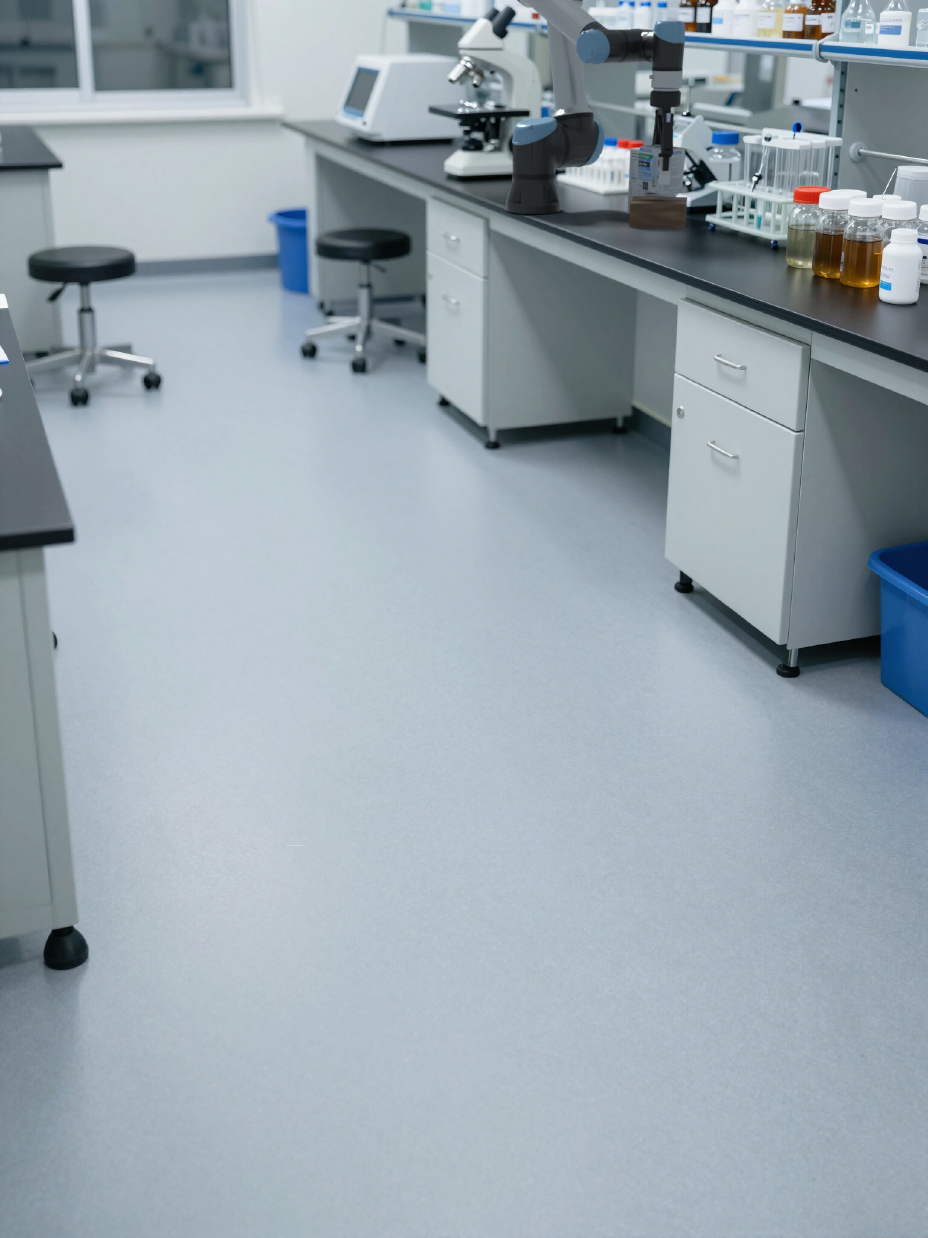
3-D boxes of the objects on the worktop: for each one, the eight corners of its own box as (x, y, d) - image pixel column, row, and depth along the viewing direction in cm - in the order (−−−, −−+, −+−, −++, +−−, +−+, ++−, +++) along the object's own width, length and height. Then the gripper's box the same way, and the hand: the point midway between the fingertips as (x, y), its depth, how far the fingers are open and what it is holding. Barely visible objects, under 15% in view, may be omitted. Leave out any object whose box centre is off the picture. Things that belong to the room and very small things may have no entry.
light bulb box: (635, 189, 326) (638, 145, 322) (656, 187, 330) (658, 143, 325) (663, 194, 318) (665, 148, 313) (683, 192, 321) (686, 147, 317)
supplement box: (673, 215, 338) (678, 148, 331) (643, 217, 335) (647, 150, 328) (656, 211, 346) (660, 145, 339) (626, 213, 343) (629, 147, 336)
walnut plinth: (632, 219, 335) (633, 196, 332) (685, 220, 332) (687, 197, 330) (628, 228, 322) (630, 203, 320) (684, 229, 320) (686, 204, 317)
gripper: (644, 86, 324) (639, 175, 334) (657, 92, 302) (652, 187, 312) (673, 86, 324) (667, 175, 334) (689, 92, 302) (682, 187, 312)
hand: (660, 181), depth 323 cm, fingers closed on light bulb box, 12 cm apart
